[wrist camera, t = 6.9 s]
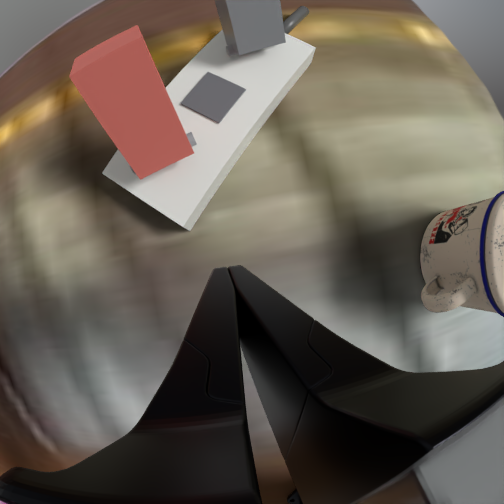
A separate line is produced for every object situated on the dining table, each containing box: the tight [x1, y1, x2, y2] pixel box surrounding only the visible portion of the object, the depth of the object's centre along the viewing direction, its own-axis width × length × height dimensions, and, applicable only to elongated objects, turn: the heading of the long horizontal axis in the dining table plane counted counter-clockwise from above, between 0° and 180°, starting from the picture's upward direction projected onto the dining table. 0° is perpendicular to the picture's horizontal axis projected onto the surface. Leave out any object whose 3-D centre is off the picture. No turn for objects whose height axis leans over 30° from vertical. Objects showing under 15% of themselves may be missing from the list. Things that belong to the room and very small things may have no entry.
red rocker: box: [70, 25, 197, 180], centre depth 15 cm, size 3×5×10 cm, turn 115°
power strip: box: [102, 6, 316, 231], centre depth 22 cm, size 25×8×3 cm, turn 147°
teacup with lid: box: [420, 191, 504, 317], centre depth 17 cm, size 12×9×12 cm
